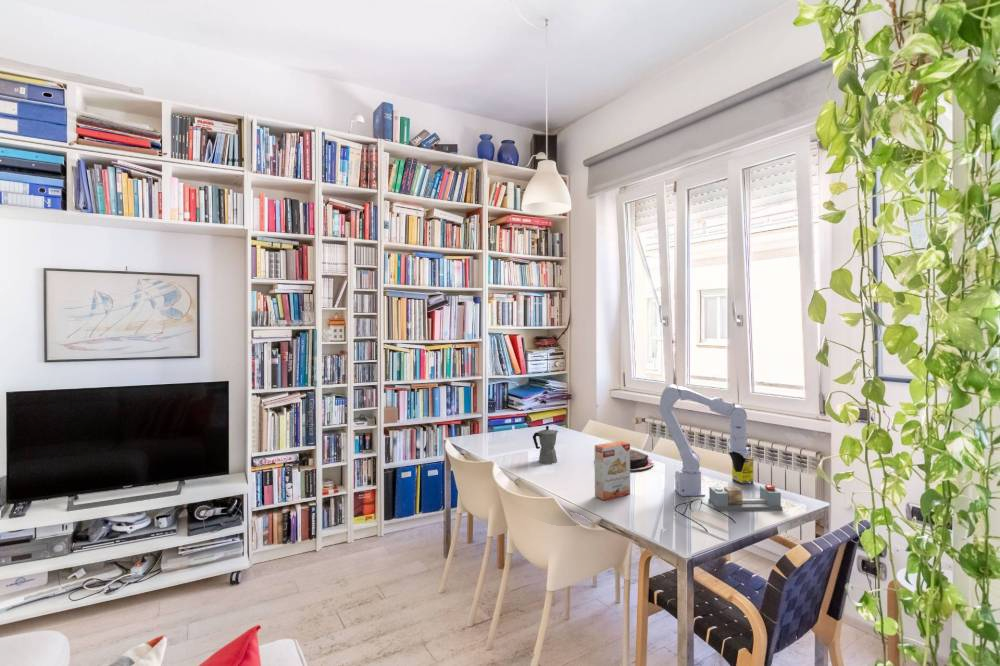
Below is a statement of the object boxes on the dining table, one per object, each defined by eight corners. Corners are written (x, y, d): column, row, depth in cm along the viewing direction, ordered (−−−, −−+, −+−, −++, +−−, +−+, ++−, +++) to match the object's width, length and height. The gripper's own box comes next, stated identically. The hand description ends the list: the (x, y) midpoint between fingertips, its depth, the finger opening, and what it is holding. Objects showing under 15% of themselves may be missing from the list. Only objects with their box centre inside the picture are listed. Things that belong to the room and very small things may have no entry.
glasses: (700, 510, 179) (701, 497, 178) (736, 529, 166) (738, 516, 165) (673, 518, 172) (674, 505, 171) (708, 539, 159) (710, 525, 158)
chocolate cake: (615, 452, 257) (615, 440, 256) (664, 463, 236) (664, 450, 236) (583, 464, 238) (583, 451, 237) (633, 477, 217) (633, 462, 217)
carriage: (728, 503, 179) (728, 490, 179) (724, 499, 183) (723, 486, 183) (742, 503, 179) (742, 490, 179) (737, 499, 183) (737, 486, 183)
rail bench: (718, 510, 177) (718, 493, 177) (708, 501, 186) (708, 484, 186) (782, 510, 176) (782, 492, 176) (769, 500, 185) (769, 484, 185)
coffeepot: (552, 457, 250) (552, 422, 249) (564, 461, 242) (563, 425, 241) (528, 462, 242) (527, 426, 242) (539, 466, 234) (538, 430, 233)
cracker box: (604, 501, 188) (603, 448, 188) (594, 496, 194) (593, 444, 193) (631, 494, 195) (630, 443, 194) (621, 490, 200) (620, 439, 200)
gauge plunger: (768, 498, 179) (767, 487, 179) (763, 495, 182) (763, 484, 182) (776, 498, 179) (776, 487, 179) (772, 495, 182) (772, 484, 182)
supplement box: (742, 485, 203) (742, 459, 202) (731, 480, 209) (731, 455, 208) (754, 483, 204) (753, 457, 204) (743, 479, 210) (743, 454, 210)
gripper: (757, 441, 181) (758, 477, 181) (739, 432, 195) (740, 465, 196) (738, 441, 181) (739, 477, 181) (722, 432, 195) (722, 465, 196)
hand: (738, 471), depth 188 cm, fingers closed
